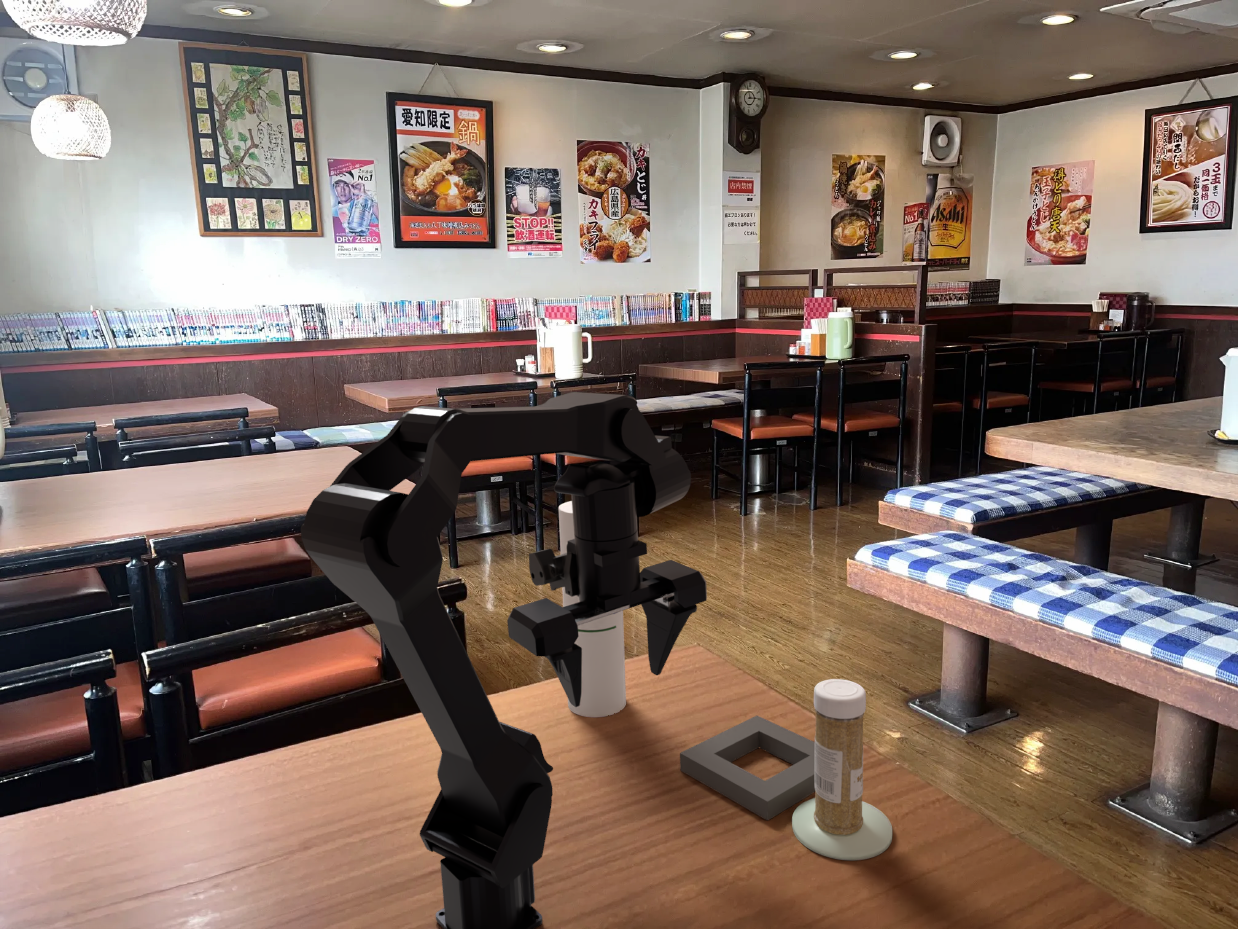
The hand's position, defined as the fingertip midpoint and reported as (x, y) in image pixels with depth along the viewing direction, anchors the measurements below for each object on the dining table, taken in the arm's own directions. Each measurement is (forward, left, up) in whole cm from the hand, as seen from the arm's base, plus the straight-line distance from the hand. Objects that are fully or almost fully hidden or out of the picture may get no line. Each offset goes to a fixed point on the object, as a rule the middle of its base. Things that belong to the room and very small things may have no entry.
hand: (616, 688), depth 83 cm
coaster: (+14, -16, -13) cm, 25 cm away
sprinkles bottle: (+13, -16, -13) cm, 24 cm away
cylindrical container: (+13, +20, -13) cm, 27 cm away
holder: (+16, -4, -13) cm, 21 cm away
